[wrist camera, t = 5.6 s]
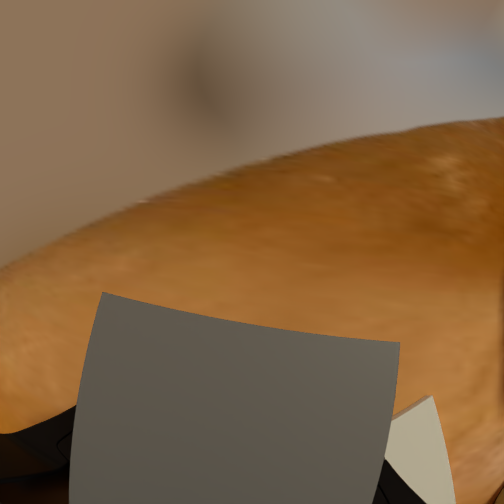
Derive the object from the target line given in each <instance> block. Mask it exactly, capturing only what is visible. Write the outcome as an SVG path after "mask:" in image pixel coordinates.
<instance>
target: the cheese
mask: <svg viewBox="0 0 504 504" xmlns="http://www.w3.org/2000/svg"><path fill="white" fill-rule="evenodd" d="M495 504H504V487H503V489H502V491H501V492H500V494H499V496H498V497H497V499H496V501H495Z"/></svg>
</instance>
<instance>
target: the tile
mask: <svg viewBox="0 0 504 504" xmlns="http://www.w3.org/2000/svg"><path fill="white" fill-rule="evenodd" d="M384 457H385V459H386V460H387V461H388V462H389V463H390V465H391V466H392V467H393V469H394V470H395V471H396V472H397V473H398V475H399V476H400V477H401V478H402V479H403V480H404V481H405V482H406V483H407V485H408V486H409V487H410V488H411V489H412V490H413V491H414V492H415V493H416V494H417V495H418V496H419V497H420V498H421V499H422V500H423V501H424V502H426V503H427V504H456V502H455V494H454V487H453V481H452V475H451V470H450V465H449V460H448V455H447V450H446V445H445V441H444V437H443V433H442V429H441V425H440V421H439V417H438V413H437V410H436V406H435V403H434V399H433V396H432V395H426V396H425V397H423V398H422V399H420V400H418V401H417V402H415V403H414V404H412V405H411V406H409V407H407V408H406V409H404V410H402V411H401V412H399V413H397V414H396V415H394V416H392V420H391V426H390V431H389V437H388V442H387V447H386V451H385V456H384Z"/></svg>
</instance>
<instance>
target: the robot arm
mask: <svg viewBox="0 0 504 504" xmlns="http://www.w3.org/2000/svg"><path fill="white" fill-rule="evenodd" d="M76 406H77V405H75V406H74V407H72V408H70V409H68V410H66V411H65V412H63V413H61V414H59V415H57V416H55V417H52V418H50V419H48V420H46V421H43V422H41V423H39V424H36V425H34V426H31V427H29V428H26V429H23V430H21V431H18V432H15V433H9V434H0V504H69V477H70V459H71V447H72V436H73V428H74V420H75V412H76ZM372 504H427V503H426V502H424V501H423V500H422V499H421V498H420V497H419V496H418V495H417V494H416V493H415V492H414V491H413V490H412V489H411V488H410V487H409V486H408V485H407V483H406V482H405V481H404V480H403V479H402V478H401V477H400V476H399V475H398V473H397V472H396V471H395V470H394V469H393V467H392V466H391V465H390V463H389V462H388V461H387V460H386V459H385V457H384V460H383V465H382V469H381V473H380V477H379V480H378V484H377V488H376V491H375V495H374V498H373V501H372Z"/></svg>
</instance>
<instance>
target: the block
mask: <svg viewBox="0 0 504 504" xmlns="http://www.w3.org/2000/svg"><path fill="white" fill-rule="evenodd" d="M399 351H400V342H388V341H376V340H365V339H355V338H345V337H336V336H328V335H320V334H312V333H304V332H297V331H290V330H283V329H277V328H270V327H264V326H258V325H252V324H246V323H240V322H235V321H229V320H224V319H218V318H213V317H208V316H203V315H198V314H193V313H189V312H184V311H179V310H175V309H170V308H166V307H161V306H157V305H153V304H148V303H144V302H140V301H136V300H132V299H128V298H124V297H120V296H116V295H113V294H109V293H105V292H102V296H101V299H100V302H99V306H98V309H97V313H96V317H95V320H94V324H93V328H92V332H91V336H90V340H89V344H88V348H87V353H86V357H85V362H84V367H83V372H82V377H81V382H80V387H79V393H78V399H77V406H76V412H75V420H74V428H73V436H72V447H71V459H70V477H69V504H372V501H373V498H374V495H375V491H376V488H377V484H378V480H379V477H380V473H381V469H382V465H383V460H384V456H385V451H386V447H387V442H388V437H389V431H390V426H391V420H392V414H393V407H394V400H395V392H396V384H397V375H398V364H399Z"/></svg>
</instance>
